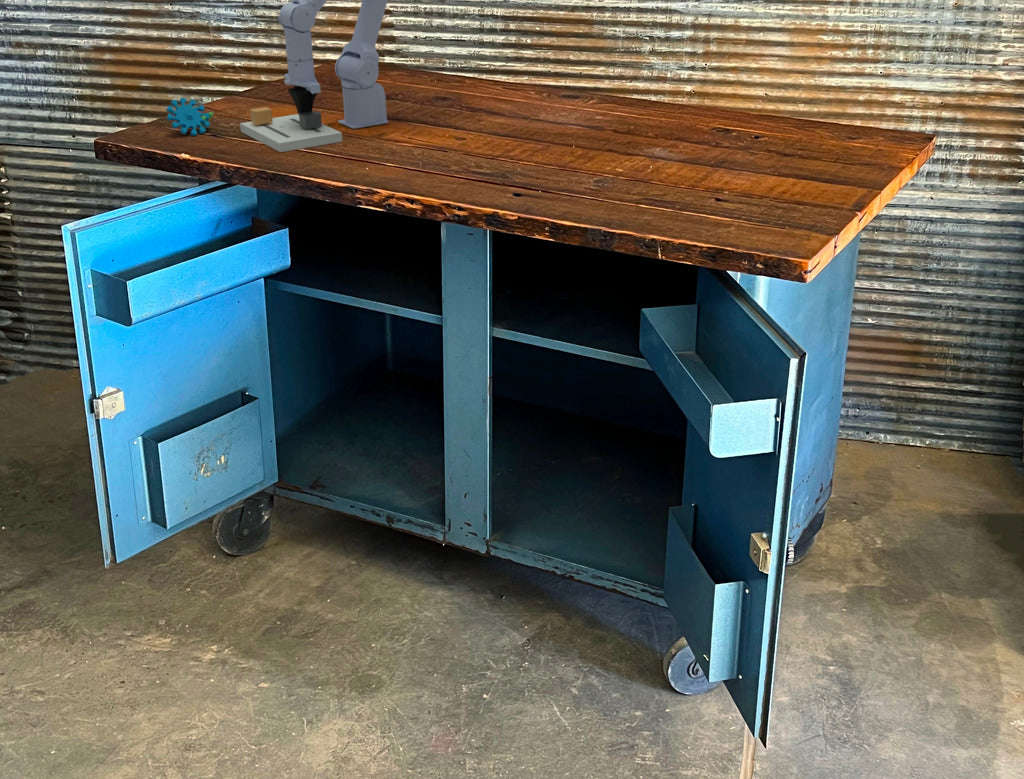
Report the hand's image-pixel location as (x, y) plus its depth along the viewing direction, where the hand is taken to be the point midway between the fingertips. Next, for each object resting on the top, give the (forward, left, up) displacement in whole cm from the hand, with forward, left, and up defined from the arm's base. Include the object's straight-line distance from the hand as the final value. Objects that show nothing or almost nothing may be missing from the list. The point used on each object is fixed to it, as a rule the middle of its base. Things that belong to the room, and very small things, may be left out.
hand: (305, 119), depth 281 cm
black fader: (0, +3, -1) cm, 3 cm away
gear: (+21, -18, -4) cm, 28 cm away
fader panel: (+4, 0, -3) cm, 5 cm away
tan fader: (+7, -7, -1) cm, 11 cm away
